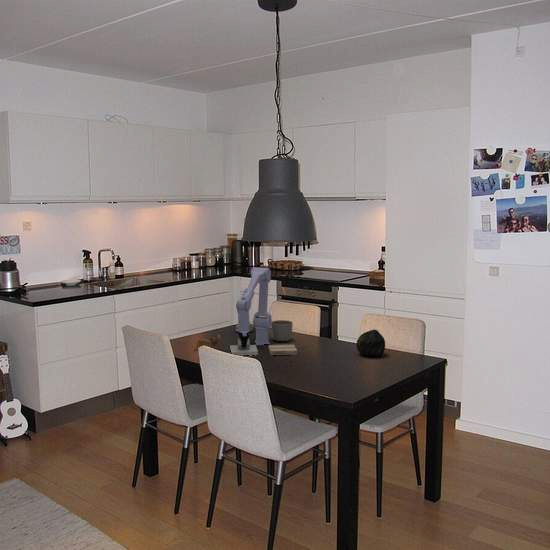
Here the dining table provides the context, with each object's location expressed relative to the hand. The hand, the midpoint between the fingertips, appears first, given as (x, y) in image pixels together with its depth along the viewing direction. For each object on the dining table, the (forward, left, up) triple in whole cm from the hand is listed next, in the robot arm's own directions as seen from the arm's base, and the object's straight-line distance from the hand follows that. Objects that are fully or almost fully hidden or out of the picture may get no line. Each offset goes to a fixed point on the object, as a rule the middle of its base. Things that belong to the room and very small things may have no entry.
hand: (243, 346), depth 326 cm
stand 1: (0, 0, -4) cm, 4 cm away
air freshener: (-50, +4, -4) cm, 50 cm away
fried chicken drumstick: (-7, -19, -4) cm, 20 cm away
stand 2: (+1, +21, -4) cm, 21 cm away
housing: (0, 0, -1) cm, 1 cm away
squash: (+12, +67, -4) cm, 68 cm away
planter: (-25, +24, -4) cm, 35 cm away
